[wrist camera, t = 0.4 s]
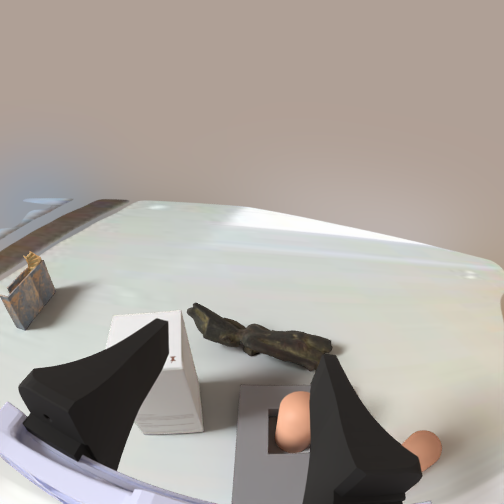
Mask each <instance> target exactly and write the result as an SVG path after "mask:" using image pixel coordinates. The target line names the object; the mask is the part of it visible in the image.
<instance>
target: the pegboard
mask: <svg viewBox="0 0 504 504" xmlns="http://www.w3.org/2000/svg"><path fill="white" fill-rule="evenodd" d="M310 388H311V385H240V397H239V410H238V424H237V437H236V450H235V464H234V477H233V491H232V504H302V503H303V498H304V492H305V487H306V481H307V473H308V466H309V457H310V453H295V454H268V417H278V414H279V407H280V403H281V401H282V400H283V399H284V397H286V396H287V395H288V394H290V393H293V392H297V391H304V392H309V393H310Z"/></svg>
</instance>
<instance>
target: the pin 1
mask: <svg viewBox="0 0 504 504" xmlns="http://www.w3.org/2000/svg"><path fill="white" fill-rule="evenodd" d="M309 400H310V393H309V392H304V391H297V392H293V393H290V394H288V395H287V396H286V397H284V399H283V400H282V401H281V403H280V407H279V414H278V420H277V426H276V432H275V442H276V444H277V446H278V447H279V448H280V449H282V450H283V451H286V452H289V453H297V452H300V451H303V450H304V449H306V448H307V447H308V446H309V444H310V442H311V439H310V409H309Z"/></svg>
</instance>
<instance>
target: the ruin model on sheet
mask: <svg viewBox="0 0 504 504" xmlns="http://www.w3.org/2000/svg"><path fill="white" fill-rule="evenodd" d="M30 252H31V251H30ZM24 258H25V259H26V261H27V263H28V267H27V268H26V269H25V270H24V271H23V272H22V273H21V274H20V275H19V276H18V277H17V278H16V279H15V280H14V281H13V282H12V283H11V284H10V285H9V286H8V287H7V289H8V291H9V293H10V294H9V296H4V295H0V297H1V299H2V301H3V303H4V305H5V307H6V309H7V311H8V313H9V314H10V316H11V318H12V320H13V322H14V323H15V325H16V327H17V328H19V329H22V330H26V329H27V327H28V326H29V325H30V324H31V322H32V321H33V320H34V318H35V317H36V316H37V314H38V313H39V312H40V311H41V309H42V308H43V307H44V306H45V304H46V303H47V302H48V301H49V300H50V298H51V297H52V296H53V295H54V294H55V292H56V290H55V288H54V285H53V283H52V281H51V278H50V276H49V273H48V270H47V268H46V265H45V262H44V260H41V257H39V256H37V255H35V254H34V253H32V252H31V253H30V254H28V255H27V256H26V257H25V256H24Z"/></svg>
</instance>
